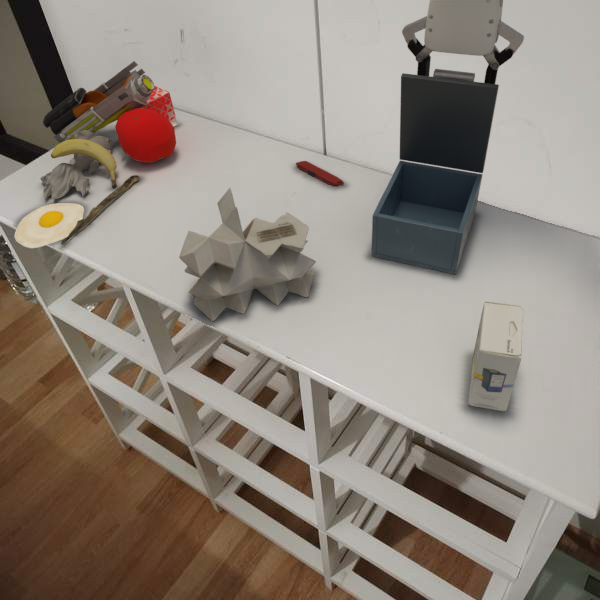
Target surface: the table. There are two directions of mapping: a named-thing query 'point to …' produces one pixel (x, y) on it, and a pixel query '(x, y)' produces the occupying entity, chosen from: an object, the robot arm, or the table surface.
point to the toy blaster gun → (99, 104)
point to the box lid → (446, 119)
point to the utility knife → (319, 173)
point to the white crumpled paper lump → (247, 261)
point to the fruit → (87, 153)
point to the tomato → (145, 135)
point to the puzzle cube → (161, 104)
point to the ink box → (496, 356)
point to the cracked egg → (48, 224)
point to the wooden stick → (101, 206)
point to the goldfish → (73, 170)
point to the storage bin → (425, 216)
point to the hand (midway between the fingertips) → (454, 87)
